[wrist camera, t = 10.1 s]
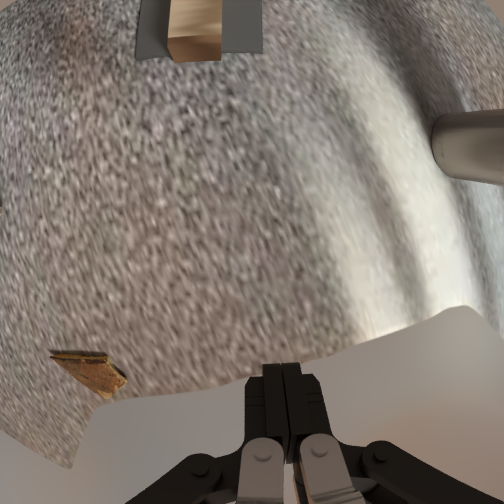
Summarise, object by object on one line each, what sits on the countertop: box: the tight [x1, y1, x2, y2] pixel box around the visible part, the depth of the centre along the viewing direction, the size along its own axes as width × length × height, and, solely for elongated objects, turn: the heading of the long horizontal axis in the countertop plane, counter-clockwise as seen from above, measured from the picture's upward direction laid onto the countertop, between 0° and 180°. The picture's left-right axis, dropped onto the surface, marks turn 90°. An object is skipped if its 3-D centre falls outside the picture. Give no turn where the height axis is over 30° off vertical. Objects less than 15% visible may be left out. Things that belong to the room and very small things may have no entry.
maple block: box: [167, 0, 222, 63], centre depth 23 cm, size 5×5×12 cm
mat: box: [135, 0, 263, 60], centre depth 25 cm, size 14×14×1 cm
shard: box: [50, 354, 127, 399], centre depth 36 cm, size 11×8×2 cm
